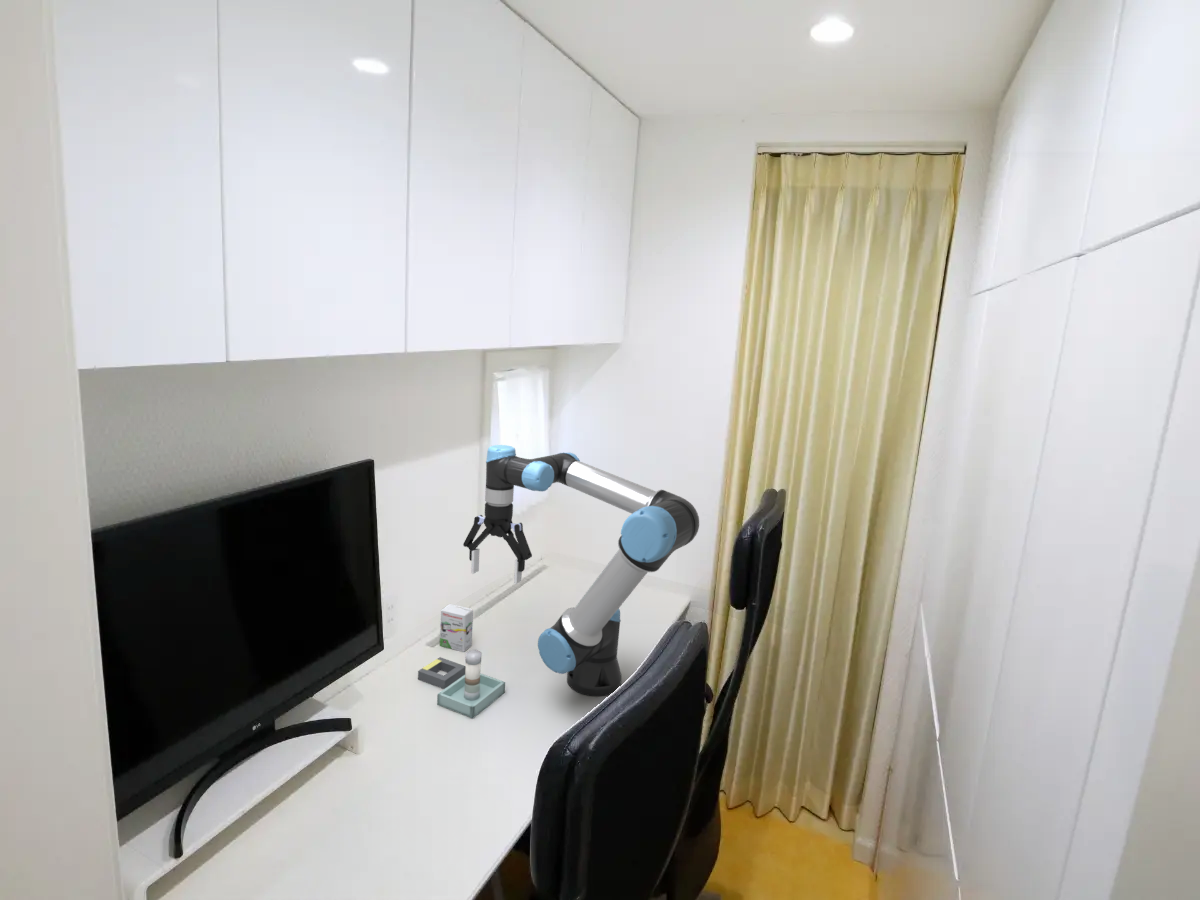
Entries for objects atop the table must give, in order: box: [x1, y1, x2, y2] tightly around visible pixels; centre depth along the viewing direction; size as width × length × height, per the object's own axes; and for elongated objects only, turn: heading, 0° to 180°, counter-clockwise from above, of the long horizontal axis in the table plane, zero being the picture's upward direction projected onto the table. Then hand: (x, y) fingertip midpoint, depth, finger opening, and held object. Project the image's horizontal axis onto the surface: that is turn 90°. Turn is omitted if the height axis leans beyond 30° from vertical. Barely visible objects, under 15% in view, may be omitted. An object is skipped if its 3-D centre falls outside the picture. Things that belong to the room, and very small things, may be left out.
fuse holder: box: [417, 656, 466, 690], centre depth 180 cm, size 9×9×3 cm
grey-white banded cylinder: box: [464, 649, 483, 701], centre depth 170 cm, size 4×4×12 cm
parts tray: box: [436, 672, 506, 719], centre depth 171 cm, size 11×14×3 cm
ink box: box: [439, 603, 474, 653], centre depth 197 cm, size 8×5×12 cm, turn 71°
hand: (496, 577), depth 182 cm, fingers open, 13 cm apart
